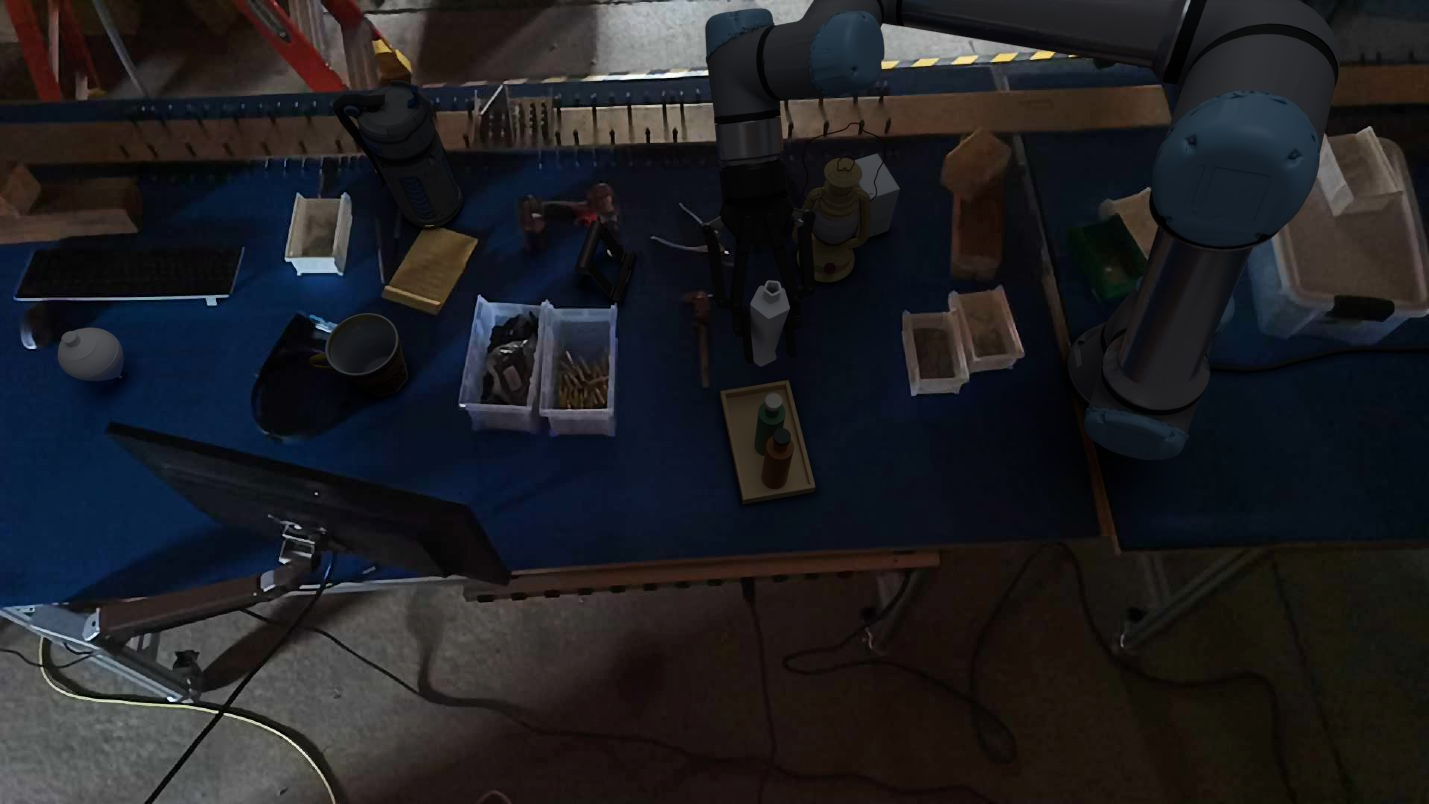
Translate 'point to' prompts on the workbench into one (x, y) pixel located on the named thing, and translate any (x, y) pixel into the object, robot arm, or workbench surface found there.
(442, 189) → the beverage bottle
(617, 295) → the tablet stand
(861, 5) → the robot arm
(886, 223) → the small box
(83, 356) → the spinning top
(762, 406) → the green bottle
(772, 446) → the amber bottle
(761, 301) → the perfume bottle
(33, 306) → the workbench surface
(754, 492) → the tray
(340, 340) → the ceramic cup
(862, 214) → the lantern
